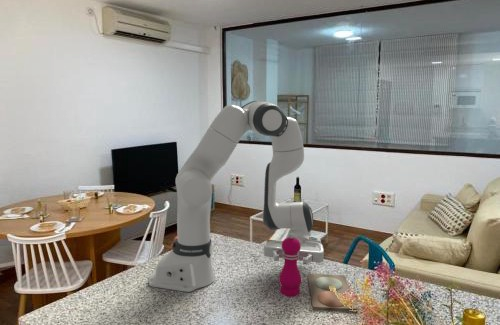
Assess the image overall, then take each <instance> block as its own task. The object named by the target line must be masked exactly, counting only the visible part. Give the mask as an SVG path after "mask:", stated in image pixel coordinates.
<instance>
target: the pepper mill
mask: <svg viewBox="0 0 500 325" xmlns="http://www.w3.org/2000/svg"><path fill="white" fill-rule="evenodd" d="M282 241H283V242H282V249H283V251H284V252H283V257H284V258H283V259H284V263H283V264H284V265H283V267H282V269H281V271H280V272H279V273H280V274H279V277H278V281H279V283H280V287H279V288H280V290H279V292H280V293H281V295H283V296H284V297H289V298H295V297H298V296H299V295H300V292H301V291H300V290H301V289H300V288H301V287H300V286H301V284H302V276H301V273H300V272H301V271H300V270H299V268H298V262H297V261H298V260H297V258H299V256H298V255H299V253H298V251H299V250H300V248H301V245H300V242H299V240H298V239H296V238H294V234H293V233H290V234H289V237H288V238H286V237H285V238H284V239H283V240H282Z"/></svg>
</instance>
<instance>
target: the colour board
mask: <svg viewBox="0 0 500 325" xmlns="http://www.w3.org/2000/svg"><path fill="white" fill-rule="evenodd" d="M306 277H307V281H308V282H307V283H308V289H309V296H310V301H311V307H312V308H311V309H312V311H326V312H327V311H328V312H330V311H331V312H345V311H349V310H352V309H350V308H347V307H345V306H344V305H343V304H341V302H340V301H339V299H338V298H337V296H336V295H335V292H333V291H330V289H329V286H335V288H336V291H337V293H340V294H343V293H345V291H346V290H347V289H350V286H349V285H350V284H349V283H348V281H347V278H346V275H345V274H344V275H343V274H342V275H340V274H321V273H307V276H306ZM350 290H351V289H350ZM353 310H357V311H358V308H354V309H353Z"/></svg>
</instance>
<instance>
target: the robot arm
mask: <svg viewBox="0 0 500 325" xmlns="http://www.w3.org/2000/svg"><path fill="white" fill-rule="evenodd" d="M249 131H252V132H254V133H256V134H259V135H263V136H266V137H267V136H268V137H270V138H269V139H270V140H271V147H272V157H271V161H270V162H269V163H267V165H266V168H265V173H264V194H263V195H264V196H263V200H264V201H263V211H262V222H263V225H265V227H266V228H268V229H269V230H271V231H276V230H281V229H282V230H284V229H289V230H288V233H287V235H286V236H285V239H286V238H288V237H289V234H290V233H293V234H294V238H296V239H298V240H299V242H300V245H301V248H300V250H299V251H298V253H299V255H298V256H299V258H297V261H302V264H303V265H308V264H309V263H318V264H319V263H323V262H324V254H325V251H324V245H323V244H322V240H321V238H319V237H314V236H312V230H313V227H314V215H313V214H314V213H313V211H312V207H311V206H310V205H309V204H308V203H307V202H305V201H292V202H277V201H276V192H277V182H278V181H279V180H280V179H281V178H283V177H285V176H288V175H290V174H292V173H293V172H295V171H297V170H298V169H299V168H300V167H301V166H302V164H303V163H304V160H305V149H304V148H305V146H304V141H303V136H302V132H301V128H300V125H299V122H298V121H297V119H295V118H293V117H290V116H286V114H285V113H284V111H283V109H281V108H280V106H278V105H277V104H275V103H272V102H268V101H265V100H253V101H250V102H247V103H246V104H245V105H243V106H239V105H237V104H227V105H225V106H224V107H223V108H222V110H221V111H220V112H219V113H218V114H217V115H216V116H215V118H214V119H213V120H212V122H211V123H210V126H209V127H208V128H207V130H206V131H205V133H204V135H203V136H202V138H201V139H200V141H199V143H198V144H197V146H196V148H195V149H194V151H192V153H191V154H190V155H189V157H188V158H187V159H186V161H185V162H184V163H183V164H182V166H181V168H180V170H179V171H178V173H177V174H176V177H175V181H174V182H175V186H176V193H177V197H176V198H177V202H176V203H177V205H176V206H177V208H176V209H177V210H176V211H177V213H176V214H177V215H176V226H177V229H176V231H177V232H176V233H177V236H175V237H174V238H173V241H172V242H171V246H170V248H171V251H169V252H168V253H166V254H165V255H164V256H162V257H161V259H159V261H158V262H157V263H156V264H157V265H156V268H155V270H154V271H153V272H152V273H151V275H150V276H149V278H148V285H149V286H150V287H153V288H161V289H166V290H173V291H179V292H186V293H190V292H193V291H195V290H196V289H201V288H204V287H207V286H209V285H211V284H212V283H213V282H214V281H215V279H216V276H215V273H214V269H213V268H214V267H213V264H212V253H213V250H212V249H213V248H212V247H213V246H212V245H213V244H212V239H211V211H212V195H213V185H212V182H211V181H212V180H213V179H214V177H215V176H216V174H217V173H218V172H219V171H220V170H221V169H222V168H223V167H224V166H225V165H226V164H227V162H228V160H229V159H230V157H231V155H232V154H233V153H234V150H235V149H236V147H237V146H238V144H239V142H240V140H241V139H242V137H243V136H244V135H245V134H246V133H247V132H249ZM282 242H283V240H276V239H275V240H274V239H273V240H269V241H267V242H266V243H265V244H264V246H263V256H265V257H268V258H273V261H276V262H279V261H280V259H284V257H283V252H284V251H283V249H282Z"/></svg>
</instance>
